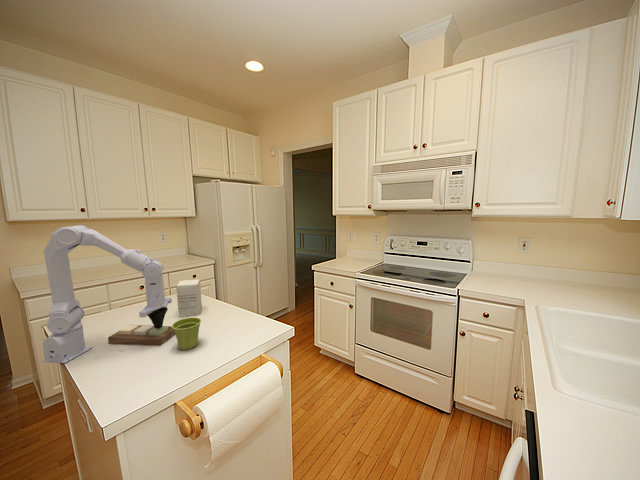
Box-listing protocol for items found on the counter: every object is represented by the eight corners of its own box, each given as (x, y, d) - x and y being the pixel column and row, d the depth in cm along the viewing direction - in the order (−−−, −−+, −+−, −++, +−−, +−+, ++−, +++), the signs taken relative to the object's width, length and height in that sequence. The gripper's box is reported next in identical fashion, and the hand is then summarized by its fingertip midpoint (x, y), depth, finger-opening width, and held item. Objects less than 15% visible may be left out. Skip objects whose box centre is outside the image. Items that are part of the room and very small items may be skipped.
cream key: (130, 337, 96) (129, 330, 96) (119, 336, 97) (118, 330, 97) (139, 331, 101) (138, 325, 101) (128, 331, 101) (128, 325, 101)
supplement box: (182, 310, 125) (179, 280, 123) (202, 308, 128) (200, 278, 126) (178, 317, 116) (175, 285, 114) (199, 315, 119) (197, 283, 117)
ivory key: (145, 337, 96) (144, 331, 96) (134, 337, 96) (133, 331, 96) (153, 332, 100) (153, 326, 100) (143, 331, 101) (142, 325, 100)
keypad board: (160, 345, 93) (159, 339, 92) (108, 343, 94) (107, 337, 94) (177, 332, 103) (177, 326, 102) (130, 330, 104) (130, 324, 104)
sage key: (160, 338, 96) (160, 332, 95) (149, 337, 96) (148, 331, 96) (168, 332, 100) (167, 326, 100) (157, 332, 100) (157, 326, 100)
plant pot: (170, 354, 87) (168, 330, 86) (177, 340, 96) (175, 318, 95) (200, 350, 90) (198, 327, 89) (204, 337, 99) (203, 315, 98)
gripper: (151, 300, 88) (154, 337, 90) (177, 287, 103) (180, 319, 104) (132, 299, 89) (135, 336, 91) (161, 286, 103) (163, 319, 105)
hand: (158, 327), depth 98 cm, fingers closed
